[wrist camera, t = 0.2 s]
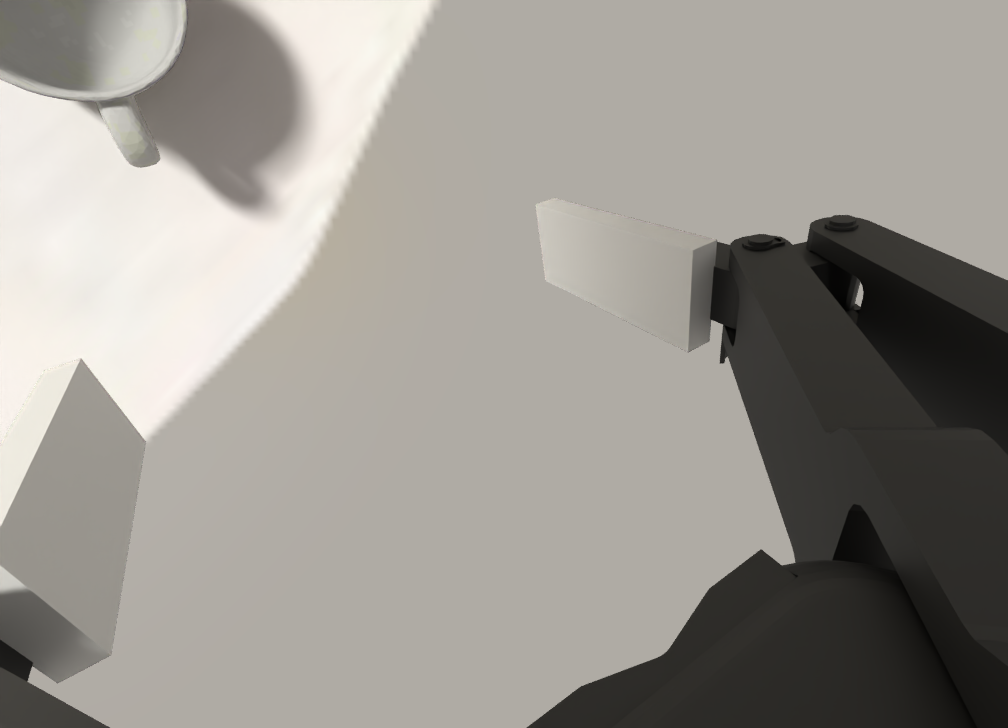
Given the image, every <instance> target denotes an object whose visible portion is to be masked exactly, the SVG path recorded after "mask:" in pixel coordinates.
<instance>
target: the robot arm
mask: <svg viewBox="0 0 1008 728" xmlns="http://www.w3.org/2000/svg"><path fill="white" fill-rule="evenodd" d="M536 212H537V220H538V228H539V236H540V243H541V251H542V258H543V266H544V274H545V281H547V282H549V283H551V284H553V285H555V286H557V287H559V288H561V289H563V290H565V291H567V292H569V293H571V294H573V295H575V296H577V297H579V298H581V299H583V300H585V301H587V302H589V303H591V304H593V305H595V306H597V307H599V308H601V309H603V310H605V311H607V312H609V313H611V314H613V315H615V316H617V317H619V318H621V319H623V320H625V321H626V322H628V323H631V324H632V325H635V326H636V327H638V328H640V329H642V330H644V331H646V332H648V333H650V334H652V335H654V336H656V337H659V338H661V339H662V340H664V341H666V342H668V343H670V344H672V345H674V346H676V347H678V348H680V349H682V350H684V351H686V352H690V351H692V350H694V349H696V348H698V347H699V346H701V345H703V344H705V343H707V342H709V340H710V327H711V320H714V321H716V322H718V323H721V324H723V333H722V343H721V354H720V363H724V362H725V358H726V357H727V356H728V358H729V361H730V364H731V367H732V370H733V373H734V376H735V379H736V382H737V385H738V388H739V390H740V393H741V397H742V400H743V402H744V405H745V408H746V411H747V414H748V417H749V420H750V423H751V426H752V429H753V432H754V435H755V438H756V441H757V444H758V447H759V450H760V453H761V455H762V459H763V461H764V465H765V467H766V470H767V473H768V476H769V479H770V482H771V485H772V488H773V491H774V494H775V497H776V500H777V503H778V506H779V509H780V512H781V515H782V518H783V521H784V524H785V527H786V530H787V533H788V536H789V538H790V541H791V544H792V547H793V551H794V556H795V562H796V563H793V564H788V565H783V566H782V565H780V564H779V563H778V562H776V561H775V560H774V559H773V558H771V557H770V556H769V555H768V554H766V553H765V552H764V551H763V550H760V551H758V552H757V553H756V554H754V555H753V556H752V557H750V558H749V559H748V560H746V561H745V562H744V563H742V564H741V565H740V566H739V567H737V568H736V569H735V570H733V571H732V572H731V573H729V574H728V575H727V576H725V577H724V578H723V579H721V580H720V581H719V582H718V583H716V584H715V585H714V586H712V587H711V588H710V589H709V590H708V591H707V593H706V594H705V596H704V597H703V599H702V600H701V602H700V603H699V605H698V606H697V608H696V609H695V611H694V613H693V614H692V615H691V617H690V618H689V620H688V621H687V623H686V625H685V626H684V627H683V629H682V631H681V632H680V633H679V635H678V636H677V638H676V639H675V641H674V642H673V644H672V645H671V647H670V648H669V650H668V651H667V652H666V653H665V654H663V655H662V656H660V657H658V658H656V659H653V660H650V661H647V662H645V663H642V664H639V665H637V666H634V667H632V668H629V669H626V670H623V671H621V672H618V673H616V674H613V675H611V676H608V677H605V678H603V679H600V680H597V681H594V682H592V683H589V684H586V685H584V686H581V687H580V688H578V689H577V690H576V691H574V692H573V693H572V694H570V695H569V696H568V697H566V698H565V699H564V700H562V701H561V702H560V703H559V704H557V705H556V706H555V707H553V708H552V709H551V710H549V711H548V712H547V713H546V714H544V715H543V716H542V717H540V718H539V719H538V720H536V721H535V722H534V723H532V724H531V725H530V726H528V727H527V728H1008V280H1005V279H1003V278H1000V277H998V276H995V275H993V274H991V273H989V272H986V271H984V270H982V269H979V268H977V267H975V266H972V265H970V264H968V263H966V262H963V261H961V260H959V259H956V258H954V257H952V256H949V255H947V254H945V253H942V252H940V251H938V250H936V249H933V248H931V247H928V246H926V245H924V244H921V243H919V242H917V241H914V240H912V239H910V238H908V237H905V236H903V235H901V234H898V233H896V232H894V231H891V230H889V229H887V228H884V227H882V226H880V225H877V224H875V223H873V222H870V221H868V220H864V219H861V218H855V217H852V216H849V215H835V216H833V217H829V218H822V219H819V220H816V221H814V222H812V223H811V224H810V229H809V234H808V240H807V242H804V243H799V244H795V245H792V244H791V243H790V242H789V241H788V240H786V239H784V238H782V237H777V236H770V235H766V234H758V235H752V236H747V237H742V238H739V239H736V240H734V241H733V242H732V243H731V245H727V244H724V243H720V242H717V240H716V239H712V238H708V237H704V236H700V235H696V234H692V233H689V232H685V231H681V230H677V229H673V228H669V227H665V226H661V225H657V224H653V223H650V222H646V221H642V220H638V219H634V218H630V217H626V216H622V215H619V214H615V213H610V212H607V211H603V210H599V209H595V208H591V207H588V206H584V205H580V204H576V203H572V202H567V201H564V200H560V199H556V198H553V199H550V200H547V201H544V202H541V203H538V204H536ZM860 282H861V284H862V286H863V291H864V294H863V300H862V304H861V307H860V306H858V305H857V304H855V301H856V297H857V293H858V289H859V285H860ZM145 445H146V441H145V440H144V439H143V438H142V436H141V435H140V434H139V432H138V431H137V430H136V428H135V427H134V426H133V425H132V423H131V422H130V421H129V419H128V418H127V417H126V416H125V414H124V413H123V412H122V410H121V409H120V408H119V407H118V405H117V404H116V403H115V401H114V400H113V399H112V398H111V396H110V395H109V394H108V392H107V391H106V390H105V389H104V387H103V386H102V385H101V383H100V382H99V381H98V379H97V378H96V377H95V376H94V374H93V373H92V372H91V370H90V369H89V368H88V367H87V365H86V364H85V363H84V361H83V360H82V359H81V358H80V359H77V360H74V361H71V362H68V363H65V364H62V365H59V366H56V367H53V368H50V369H47V370H44V371H43V373H42V375H41V376H40V378H39V380H38V381H37V383H36V385H35V386H34V388H33V390H32V391H31V393H30V395H29V396H28V398H27V400H26V401H25V403H24V405H23V407H22V408H21V410H20V412H19V413H18V415H17V417H16V418H15V420H14V422H13V423H12V425H11V427H10V428H9V430H8V432H7V433H6V435H5V437H4V438H3V440H2V442H1V444H0V728H110V727H108V726H106V725H104V724H102V723H101V722H99V721H97V720H95V719H93V718H91V717H90V716H88V715H86V714H84V713H82V712H81V711H79V710H77V709H75V708H73V707H72V706H70V705H68V704H66V703H64V702H63V701H61V700H59V699H57V698H55V697H54V696H52V695H50V694H48V693H46V692H45V691H43V690H41V689H39V688H37V687H36V686H34V685H32V684H30V683H28V682H27V681H28V678H29V674H30V671H31V668H32V666H33V667H35V668H36V669H38V670H39V671H40V672H42V673H43V674H45V675H46V676H48V677H49V678H51V679H52V680H53V681H55V682H56V683H59V682H61V681H63V680H65V679H67V678H69V677H71V676H73V675H75V674H77V673H78V672H80V671H82V670H84V669H86V668H88V667H90V666H92V665H94V664H96V663H97V662H99V661H101V660H103V659H105V658H107V657H109V656H111V653H112V647H113V641H114V635H115V628H116V622H117V616H118V610H119V604H120V598H121V592H122V586H123V579H124V573H125V567H126V561H127V555H128V549H129V542H130V536H131V531H132V524H133V518H134V512H135V506H136V499H137V493H138V488H139V481H140V475H141V469H142V463H143V457H144V451H145Z"/></svg>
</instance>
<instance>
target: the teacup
mask: <svg viewBox="0 0 1008 728" xmlns="http://www.w3.org/2000/svg"><path fill="white" fill-rule="evenodd" d="M187 22H188V9H187V0H0V79H1V80H3V81H5V82H8V83H10V84H12V85H15V86H17V87H20V88H22V89H25V90H27V91H30V92H33V93H37V94H40V95H44V96H49V97H53V98H59V99H65V100H74V101H90V102H96V104H97V106H98V108H99V111H100V113H101V115H102V117H103V119H104V121H105V123H106V125H107V127H108V129H109V131H110V133H111V135H112V137H113V139H114V141H115V143H116V145H117V146H118V148H119V149H120V151H121V153H122V154H123V156H124V157H125V159H126V160H127V161H128V162H129V163H130V164H131V165H133V166H135V167H148V166H151V165H154V164H157V162H158V161H159V160H160V155H159V151H158V149H157V147H156V145H155V142H154V140H153V138H152V135H151V133H150V131H149V129H148V127H147V125H146V122H145V120H144V118H143V116H142V114H141V112H140V110H139V107H138V105H137V102H136V100H135V95H137V94H139V93H141V92H143V91H145V90H147V89H148V88H150V87H151V86H153V85H154V84H155V83H157V82H158V81H159V80H160V79H161V78H162V77H163V76H165V75H166V73H167V72H168V71H169V70H170V69H171V68H172V67H173V65H174V63H175V62H176V60H177V58H178V56H179V55H180V53H181V51H182V48H183V44H184V41H185V36H186V29H187Z"/></svg>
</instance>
